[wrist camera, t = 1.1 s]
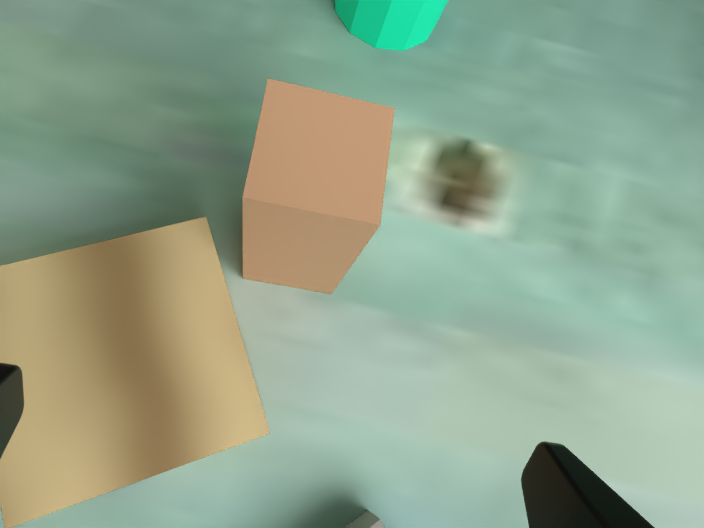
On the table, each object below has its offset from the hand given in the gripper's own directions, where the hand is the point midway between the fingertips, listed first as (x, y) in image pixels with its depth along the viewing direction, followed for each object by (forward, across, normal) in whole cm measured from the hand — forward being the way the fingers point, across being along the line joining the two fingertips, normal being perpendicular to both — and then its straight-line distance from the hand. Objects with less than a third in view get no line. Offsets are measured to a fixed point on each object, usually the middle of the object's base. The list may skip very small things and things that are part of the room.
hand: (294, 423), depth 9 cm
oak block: (+11, +6, +9) cm, 15 cm away
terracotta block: (+15, 0, +4) cm, 15 cm away
